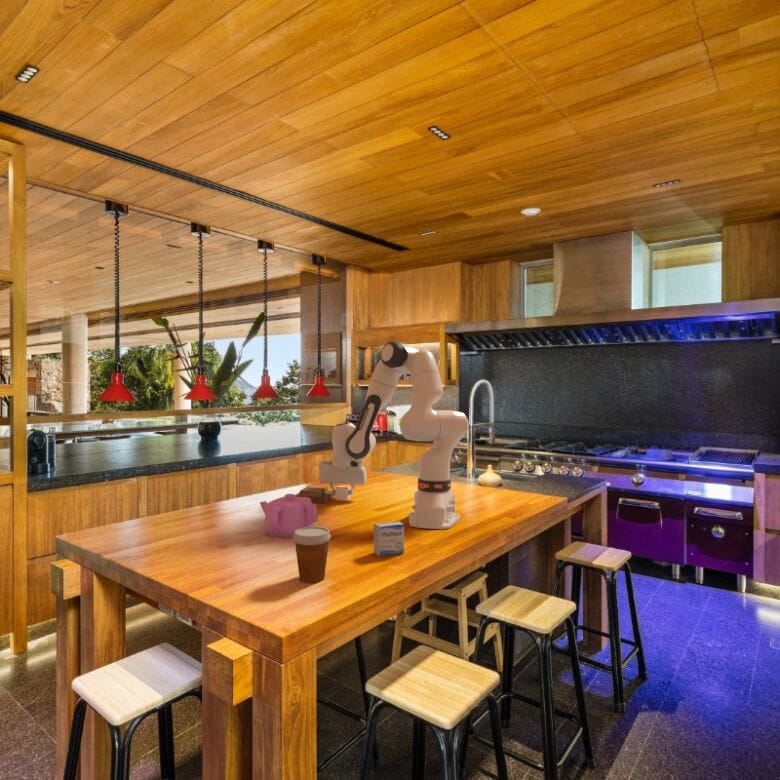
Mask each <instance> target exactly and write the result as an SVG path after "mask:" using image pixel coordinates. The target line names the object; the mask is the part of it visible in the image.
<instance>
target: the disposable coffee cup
mask: <svg viewBox="0 0 780 780" xmlns="http://www.w3.org/2000/svg"><path fill="white" fill-rule="evenodd" d="M331 537H332V535H331V533H330V530H329V528H326V527H323V526H313V527H304V528H300V529H297V530H296V531H295V534H294V536H293V538H292V539H293V541H294V542H293V543H294V545H295V551H296V552H295V553H296V561H297V569H298V575H299V581H301V582H303V583H307V584H308V583H309V584H313V583H315V584H316V583H318V582H319V583H320V582H322V581H324V580H325V577H326V568H327V560H328V552H329V545H330V540H331Z"/></svg>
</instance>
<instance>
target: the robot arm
mask: <svg viewBox="0 0 780 780" xmlns="http://www.w3.org/2000/svg"><path fill="white" fill-rule="evenodd" d="M403 375H406V376H407V377H410V381H411V386H412V387H411V388H412V397H413V398H412V399H413V400H412V404H411V406H410V408H409V410H407V411H406V412H405V413H404V414H403V416H402V417H401V418H400V422H399V429H400V433H401V435H402V436H403V437H404V438H405V440H410V441H415V442H427V441H428V442H429V441H431V442H432V441H433V443H432V445H431V447H430V448H429V449H428V450H426V451H424V452H423V453H422V454H421V455H420V457H419V459H418V469H419V471H418V478H417V490H416V491H415V492H414V505H412V506H411V507H412V510H414V511H410V512H408V515H407V516H408V526H409V527H413V528H419V529H432V530H447V529H450V528H451V527H453V525H455V524H456V523H457V522H458V521H459V520H460V519H461V515H459V514H457V513H456V495H455V494H454V493H453V492H452V489H451V488H452V486H451V485H452V481H451V478H450V475H451V474H450V471H451V468H450V467H451V460H452V459H451V458H452V454H453V452H454V449H455V448H456V446H457V444H458V443H459V442H460V441H461V439H463V438H464V437H465V436H466V435H467V433H468V431H469V428H470V426H469V425H470V423H469V419H468V417H467V416H466V415H465V413H464V412H462V411H457V410H452V409H448V410H447V409H445V410H444V409H441V410H439V409H438V410H436V409H433V405H434V404H436V403H438V402H439V401H440V400H441V399H442V398H443V396H444V388H443V384H442V378H441V373H440V370H439V367H438V363H437V360H436V358H435V356H434V354H433V353H432V352H431V351H429V350H425V349H424V350H423V349H422V350H421V349H418V348H416V347H414V346H412V345H409V344H406V343H401V342H399V341H393V340H392V341H388V342H386V343H384V345H383V347H382V349H381V351H380V359H379V361H378V362H377V364H376V365H375V368H374V370H373V372H372V375H371V377H370V381H369V384H368V387H367V392H366V395H365V400H364V405H363V408H362V410H361V413H360V416H359V418H358V421H357V424H356V425H355V424H353V423H352V422H350V421H348V422H347V421H346V422H342V423H338V424H336V425H335V426H333V430H332V435H331V436H332V439H331V440H332V441H331V445H332V454H331V459H332V460H322V461H319V465H318V469H319V473H318V481H319V482H320V483H321V484H329V487H330V488H331V491H332V493H333V494H335V488H336V487H335V484H336V485H337V484H338V485H339V484H340V485H341V484H342V485H343V484H344V485H350V490H349V491H348V492H349V493H348V494H349V495H350V496H352V495H354V489H355V487H356V486H357V485H361V486H363V485H365V484H366V483H367V481H368V480H367V479H368V477H367V474H368V473H367V469H366V467H365V466H364V465H365V460H364V459H363V458H365V457H366V456H367V455H369V453H371V452H372V451H374V449H375V448H376V446H377V445H376V444H377V439H376V436H375V434H373V432H372V431H373V427H374V425H375V422H376V419H377V418H378V415H379V414H380V412H381V411H382V410H383V409H384V408H385V407H386V406H387V405H388V404H389V403H390V401H391V400H392V398H393V396H394V394H395V392H396V389H397V386H398V383H399V380H400V379H401V377H402V376H403Z"/></svg>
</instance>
